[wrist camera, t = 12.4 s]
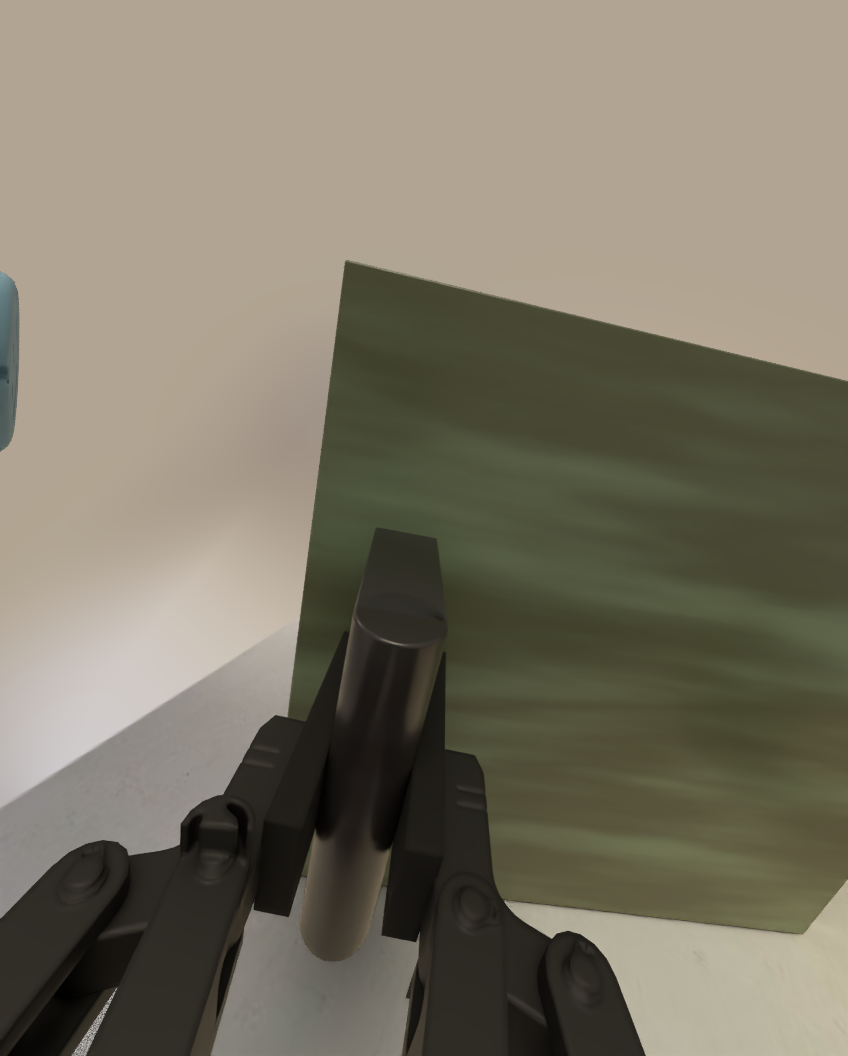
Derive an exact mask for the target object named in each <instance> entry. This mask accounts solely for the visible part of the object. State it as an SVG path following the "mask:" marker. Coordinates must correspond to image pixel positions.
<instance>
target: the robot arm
mask: <svg viewBox="0 0 848 1056" xmlns="http://www.w3.org/2000/svg"><path fill="white" fill-rule="evenodd" d="M18 370H19V299H18V291H17V288H16V285H15V282H14V281H13V280H12V279H11V278H10V277H9V276H8V275H6V274H5V273H2V272H0V451H2V450H3V449H5V448H6V447H7V446H8V445H9V443H10V441H11V439H12V437H13V432H14V426H15V417H16V407H17V392H18V391H17V390H18ZM349 633H350V632H346V631H344V633H343V635H342V637H341V640H340V642H339V644H338V647H337V649H336V651H335V654H334V656H333V658H332V661H331V663H330V666H329V668H328V670H327V673H326V675H325V677H324V680H323V682H322V684H321V687H320V689H319V691H318V694H317V696H316V698H315V701H314V703H313V705H312V708H311V710H310V713H309V715H308V717H307V720H306V721H301V720H296V719H291V718H286V717H282V716H277V715H275V716H274V717H273V718H271V719H270V720H269V721H268V722H267V723H265V724H264V725H263V726H262V727H261V728H260V729H259V731H258V732H257V734H256V736H255V738H254V740H253V742H252V743H251V745H250V748H249V749H248V751H247V752H246V754H245V756H244V758H243V760H242V763H240V765H239V767H238V769H237V771H236V772H235V774H234V776H233V778H232V780H231V781H230V783H229V785H228V787H227V789H226V790H225V792H224V794H223V795H219V796H215V797H213V798H210V799H208V800H205V801H203V802H201V803H200V804H199V805H198V806H196V807H195V808H194V809H192V810H191V811H190V812H189V813H188V815H187V816H186V818H185V819H184V820H183V822H182V823H181V837H180V845H178V846H176V847H174V848H170V849H166V850H162V851H157V852H150V853H144V854H137V855H130V856H128V852H127V849H126V848H124V847H123V846H122V845H120V844H119V843H118V842H113V841H106V840H101V841H97V842H92V843H88V844H85V845H83V846H81V847H79V848H77V849H75V850H73V851H71V852H69V853H68V854H66V855H65V856H64V857H63V858H62V859H60V860H59V861H58V862H57V863H55V864H54V865H53V866H52V867H51V868H50V869H49V870H48V871H47V872H46V873H45V874H44V875H43V876H42V877H41V878H40V879H39V880H38V881H37V882H36V883H35V884H34V885H33V886H32V887H31V888H30V889H29V890H28V891H27V892H26V893H25V894H24V895H23V896H22V898H21V899H20V900H19V901H18V902H17V903H16V904H15V905H14V906H13V907H12V908H11V909H10V910H9V911H8V912H7V913H6V914H5V915H4V916H3V917H2V918H1V919H0V1056H71V1055H72V1054H73V1052H74V1051H75V1049H76V1048H77V1046H78V1045H79V1043H80V1042H81V1040H82V1039H83V1037H84V1036H85V1034H86V1033H87V1031H88V1030H89V1028H90V1027H91V1025H92V1024H93V1022H94V1021H95V1019H96V1018H97V1016H98V1015H99V1013H100V1012H101V1010H102V1009H103V1007H104V1006H105V1004H106V1003H107V1001H108V1000H109V998H110V997H111V995H112V994H113V992H114V991H115V989H116V988H117V987H118V988H117V990H116V993H115V995H114V997H113V999H112V1001H111V1003H110V1005H109V1008H108V1010H107V1012H106V1014H105V1016H104V1018H103V1020H102V1023H101V1025H100V1027H99V1029H98V1031H97V1033H96V1035H95V1037H94V1040H93V1042H92V1044H91V1046H90V1048H89V1050H88V1052H87V1055H86V1056H210V1055H211V1051H212V1048H213V1044H214V1041H215V1037H216V1034H217V1030H218V1027H219V1023H220V1020H221V1016H222V1013H223V1009H224V1006H225V1002H226V999H227V995H228V992H229V988H230V985H231V981H232V978H233V974H234V970H235V967H236V963H237V960H238V956H239V953H240V949H241V946H242V942H243V934H244V926H245V924H246V921H247V919H248V916H249V913H250V911H251V908H252V905H253V903H254V910H256V911H261V912H266V913H271V914H276V915H281V916H286V917H289V914H290V911H291V908H292V904H293V901H294V898H295V894H296V891H297V888H298V884H299V881H300V878H301V874H302V871H303V868H304V864H305V861H306V858H307V854H308V851H309V848H310V844H311V841H312V838H313V834H314V831H315V828H316V823H317V817H318V811H319V806H320V800H321V794H322V788H323V783H324V777H325V771H326V765H327V759H328V754H329V748H330V742H331V736H332V731H333V725H334V719H335V713H336V708H337V702H338V696H339V690H340V685H341V679H342V673H343V667H344V662H345V656H346V650H347V644H348V639H349ZM445 692H446V652H443V653H442V657H441V661H440V664H439V668H438V672H437V676H436V680H435V683H434V687H433V691H432V695H431V699H430V702H429V706H428V710H427V714H426V718H425V721H424V725H423V729H422V733H421V736H420V740H419V744H418V748H417V752H416V755H415V759H414V763H413V767H412V771H411V774H410V778H409V782H408V786H407V789H406V793H405V797H404V801H403V805H402V808H401V812H400V816H399V820H398V824H397V827H396V831H395V835H394V839H393V844H392V852H391V860H390V868H389V877H388V885H387V893H386V901H385V909H384V917H383V926H382V934H381V935H382V936H387V937H392V938H397V939H402V940H407V941H412V942H416V941H417V938H418V935H419V932H420V939H419V958H418V961H417V964H416V967H415V970H414V973H413V976H412V979H411V982H410V985H409V989H408V992H407V995H406V998H408V999H410V1001H409V1008H408V1016H407V1023H406V1030H405V1037H404V1045H403V1052H402V1056H646V1055H645V1053H644V1050H643V1047H642V1045H641V1042H640V1039H639V1037H638V1034H637V1031H636V1029H635V1026H634V1023H633V1021H632V1018H631V1015H630V1013H629V1010H628V1008H627V1005H626V1002H625V1000H624V997H623V994H622V992H621V989H620V986H619V984H618V981H617V978H616V976H615V974H614V972H613V970H612V968H611V966H610V964H609V962H608V960H607V959H606V957H605V956H604V955H603V954H602V953H601V951H600V950H599V949H598V948H597V947H596V945H595V944H593V943H592V942H591V941H589V940H588V939H586V938H585V937H584V936H582V935H581V934H577V933H573V932H570V931H566V932H562V933H558V934H556V935H555V936H554V937H553V939H551V938H549V937H548V936H546V935H544V934H543V933H541V932H539V931H538V930H536V929H534V928H533V927H531V926H530V925H528V924H526V923H525V922H523V921H522V920H521V919H519V918H518V917H517V916H516V915H514V913H513V912H512V911H511V910H510V909H509V908H508V907H507V906H506V904H505V903H504V901H503V899H502V898H501V896H500V894H499V892H498V889H497V887H496V884H495V880H494V875H493V867H492V856H491V845H490V834H489V823H488V812H487V801H486V796H485V793H486V790H485V780H484V772H483V770H482V768H481V766H480V764H479V762H478V760H477V758H476V756H475V755H472V754H467V753H462V752H457V751H453V750H448V749H445ZM254 900H255V902H254Z"/></svg>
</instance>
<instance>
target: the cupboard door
mask: <svg viewBox="0 0 848 1056" xmlns="http://www.w3.org/2000/svg"><path fill="white" fill-rule="evenodd" d="M344 631H346V632H350V633H349V639H348V644H347V650H346V656H345V662H344V667H343V673H342V679H341V685H340V690H339V696H338V702H337V708H336V713H335V719H334V725H333V731H332V736H331V742H330V748H329V754H328V759H327V765H326V771H325V777H324V783H323V788H322V794H321V800H320V806H319V811H318V817H317V823H316V828H315V831H314V834H313V838H312V841H311V844H310V848H309V851H308V854H307V858H306V861H305V864H304V868H303V871H302V874H301V876H307V880H306V886H305V892H304V898H303V903H302V909H301V915H300V930H301V935H302V938H303V940H304V943H305V945H306V946H307V948H308V949H309V950H310V951H311V953H312V954H314V955H315V956H316V957H318V958H320V959H322V960H325V961H331V962H335V961H340V960H343V959H346V958H348V957H350V956H351V955H353V954H354V953H355V952H356V951H357V950H358V949H359V948H360V947H361V946H362V944H363V943H364V941H365V939H366V937H367V935H368V932H369V930H370V926H371V922H372V918H373V914H374V911H375V907H376V903H377V899H378V895H379V892H380V888H381V885H386V886H387V885H388V877H389V868H390V860H391V852H392V844H393V839H394V835H395V831H396V827H397V824H398V820H399V816H400V812H401V808H402V805H403V801H404V797H405V793H406V789H407V786H408V782H409V778H410V774H411V771H412V767H413V763H414V759H415V755H416V752H417V748H418V744H419V740H420V736H421V733H422V729H423V725H424V721H425V718H426V714H427V710H428V706H429V702H430V699H431V695H432V691H433V687H434V683H435V680H436V676H437V672H438V668H439V664H440V661H441V657H442V653H443V652H446V692H445V749H448V750H453V751H457V752H462V753H467V754H472V755H475V756H476V758H477V760H478V762H479V764H480V766H481V768H482V770H483V772H484V780H485V790H486V793H485V796H486V801H487V812H488V823H489V834H490V845H491V856H492V867H493V875H494V880H495V884H496V887H497V889H498V892H499V894H500V896H501V898H502V899H506V900H515V901H523V902H532V903H541V904H549V905H558V906H566V907H575V908H584V909H592V910H601V911H610V912H618V913H627V914H635V915H644V916H653V917H661V918H670V919H678V920H687V921H696V922H704V923H713V924H722V925H730V926H739V927H747V928H756V929H765V930H773V931H782V932H790V933H799V934H803V933H804V932H805V931H806V930H807V929H808V927H809V926H810V925H811V924H812V922H813V921H814V920H815V919H816V917H817V916H818V915H819V914H820V913H821V911H822V910H823V909H824V908H825V906H826V905H827V904H828V903H829V902H830V900H831V899H832V898H833V897H834V895H835V894H836V893H837V892H838V891H839V889H840V888H841V887H842V886H843V884H844V883H845V882H846V881H847V880H848V381H845V380H841V379H837V378H833V377H829V376H824V375H821V374H816V373H812V372H808V371H804V370H800V369H796V368H792V367H787V366H783V365H779V364H775V363H771V362H767V361H763V360H758V359H754V358H750V357H746V356H742V355H738V354H734V353H729V352H725V351H721V350H717V349H713V348H709V347H705V346H701V345H696V344H692V343H688V342H684V341H680V340H675V339H672V338H667V337H663V336H659V335H655V334H651V333H647V332H643V331H638V330H634V329H630V328H625V327H622V326H618V325H614V324H610V323H605V322H601V321H597V320H593V319H589V318H585V317H580V316H576V315H572V314H568V313H564V312H560V311H556V310H551V309H547V308H543V307H539V306H535V305H531V304H527V303H523V302H519V301H514V300H510V299H506V298H502V297H498V296H494V295H490V294H486V293H481V292H477V291H473V290H469V289H465V288H461V287H457V286H452V285H448V284H444V283H440V282H436V281H432V280H428V279H423V278H419V277H415V276H411V275H407V274H403V273H399V272H394V271H390V270H386V269H382V268H378V267H374V266H370V265H366V264H361V263H357V262H353V261H349V260H346V261H345V266H344V274H343V282H342V290H341V298H340V306H339V314H338V321H337V329H336V337H335V345H334V353H333V361H332V369H331V377H330V385H329V393H328V401H327V409H326V416H325V425H324V433H323V440H322V449H321V456H320V465H319V473H318V480H317V489H316V495H315V503H314V511H313V520H312V527H311V535H310V543H309V552H308V559H307V567H306V575H305V582H304V591H303V598H302V606H301V614H300V622H299V630H298V638H297V646H296V654H295V661H294V669H293V677H292V685H291V693H290V701H289V709H288V717H287V718H291V719H296V720H301V721H306V720H307V717H308V715H309V713H310V710H311V708H312V705H313V703H314V701H315V698H316V696H317V694H318V691H319V689H320V687H321V684H322V682H323V680H324V677H325V675H326V673H327V670H328V668H329V666H330V663H331V661H332V658H333V656H334V654H335V651H336V649H337V647H338V644H339V642H340V640H341V637H342V635H343V633H344Z"/></svg>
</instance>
